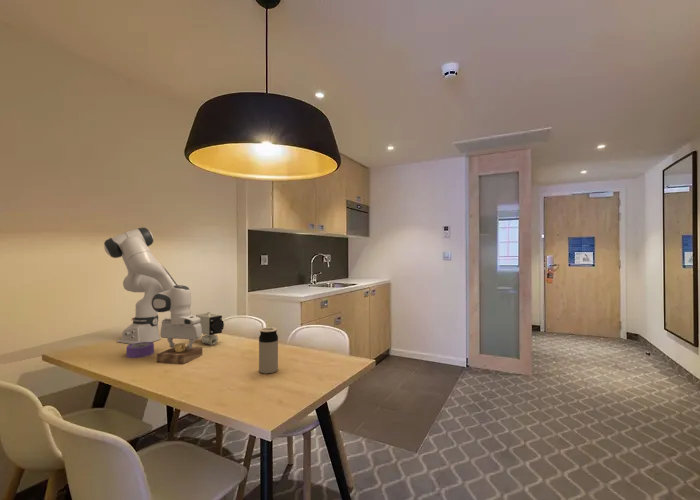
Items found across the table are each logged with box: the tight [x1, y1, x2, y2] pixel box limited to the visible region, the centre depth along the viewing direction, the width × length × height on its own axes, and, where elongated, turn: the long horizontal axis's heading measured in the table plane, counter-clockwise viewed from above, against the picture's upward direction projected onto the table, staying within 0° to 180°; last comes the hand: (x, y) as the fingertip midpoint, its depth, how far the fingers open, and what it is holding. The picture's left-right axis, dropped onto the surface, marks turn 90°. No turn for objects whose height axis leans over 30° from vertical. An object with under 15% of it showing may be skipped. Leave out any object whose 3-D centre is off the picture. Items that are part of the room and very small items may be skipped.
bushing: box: [175, 342, 186, 352], centre depth 163 cm, size 4×4×7 cm
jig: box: [156, 345, 203, 365], centre depth 163 cm, size 14×14×4 cm
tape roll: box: [126, 341, 155, 359], centre depth 170 cm, size 12×12×5 cm
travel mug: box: [258, 326, 279, 375], centre depth 146 cm, size 8×8×18 cm
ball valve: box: [195, 311, 225, 346], centre depth 190 cm, size 18×8×18 cm, turn 56°
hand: (180, 347), depth 163 cm, fingers open, 8 cm apart
